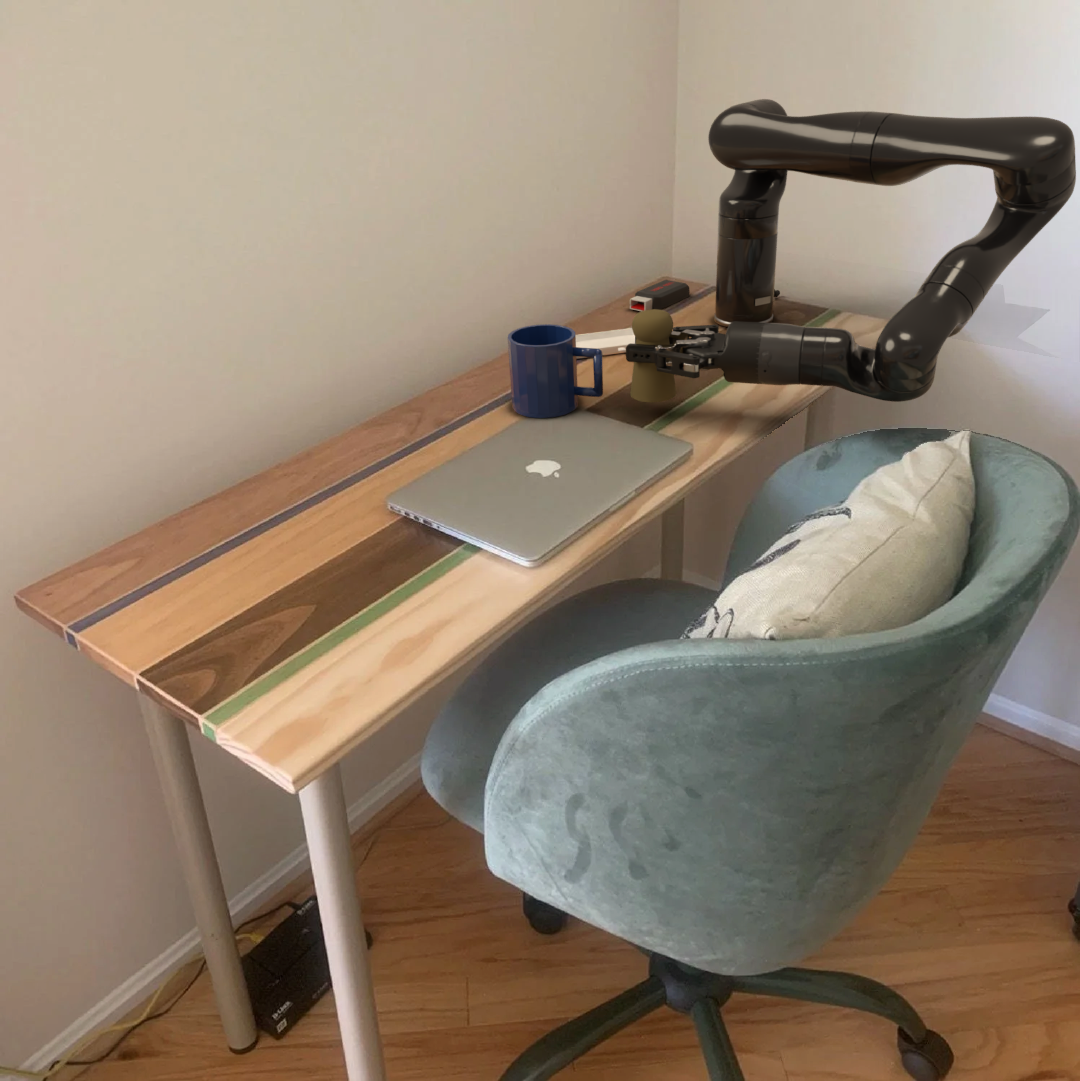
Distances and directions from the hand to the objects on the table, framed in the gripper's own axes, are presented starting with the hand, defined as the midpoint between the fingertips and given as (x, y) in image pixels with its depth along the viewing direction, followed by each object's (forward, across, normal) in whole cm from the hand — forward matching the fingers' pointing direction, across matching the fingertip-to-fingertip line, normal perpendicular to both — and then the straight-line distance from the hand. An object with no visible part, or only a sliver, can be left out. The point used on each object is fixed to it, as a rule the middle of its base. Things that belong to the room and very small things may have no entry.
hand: (632, 346), depth 134 cm
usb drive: (+8, +48, -9) cm, 50 cm away
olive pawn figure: (-3, 0, -6) cm, 7 cm away
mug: (+11, 0, -9) cm, 14 cm away
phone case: (+11, +24, -9) cm, 28 cm away
